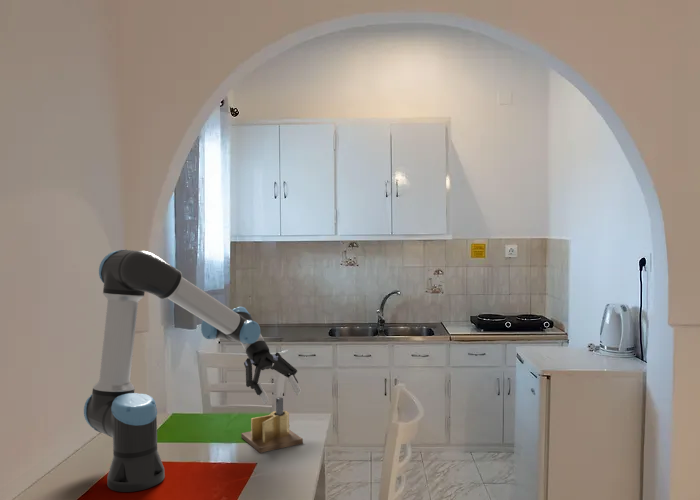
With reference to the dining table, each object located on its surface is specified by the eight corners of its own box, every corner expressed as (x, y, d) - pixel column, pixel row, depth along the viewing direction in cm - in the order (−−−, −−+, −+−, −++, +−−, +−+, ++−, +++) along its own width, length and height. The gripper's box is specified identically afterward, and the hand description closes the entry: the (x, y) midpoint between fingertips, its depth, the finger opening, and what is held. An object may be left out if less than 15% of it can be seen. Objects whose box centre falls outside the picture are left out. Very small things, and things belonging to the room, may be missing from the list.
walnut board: (259, 452, 187) (259, 448, 187) (241, 437, 201) (241, 433, 201) (302, 443, 195) (302, 438, 194) (282, 429, 208) (282, 424, 208)
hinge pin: (278, 435, 197) (277, 399, 197) (275, 433, 199) (274, 398, 199) (284, 434, 199) (284, 398, 198) (281, 432, 201) (281, 397, 200)
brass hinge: (259, 445, 189) (258, 423, 189) (248, 437, 196) (248, 416, 196) (295, 437, 195) (295, 416, 195) (284, 430, 203) (283, 409, 203)
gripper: (278, 347, 218) (306, 395, 208) (220, 358, 200) (247, 412, 190) (287, 334, 214) (316, 383, 204) (228, 344, 196) (257, 399, 186)
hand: (283, 397), depth 197 cm, fingers open, 13 cm apart
